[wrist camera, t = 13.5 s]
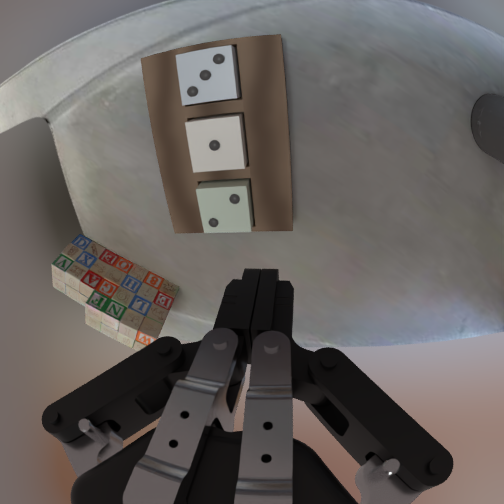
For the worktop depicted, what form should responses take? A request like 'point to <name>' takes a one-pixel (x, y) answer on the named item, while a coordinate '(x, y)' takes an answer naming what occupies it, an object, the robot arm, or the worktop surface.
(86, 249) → the stack of blocks
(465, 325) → the worktop surface
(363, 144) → the worktop surface
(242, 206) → the key
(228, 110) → the key panel
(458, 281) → the worktop surface
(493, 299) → the worktop surface
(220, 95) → the key
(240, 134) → the key
